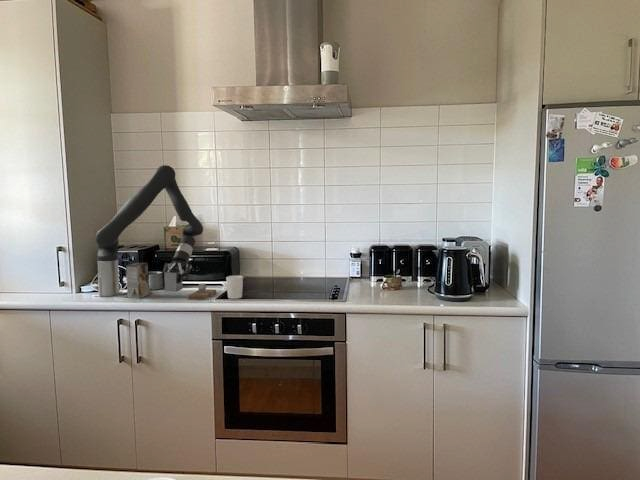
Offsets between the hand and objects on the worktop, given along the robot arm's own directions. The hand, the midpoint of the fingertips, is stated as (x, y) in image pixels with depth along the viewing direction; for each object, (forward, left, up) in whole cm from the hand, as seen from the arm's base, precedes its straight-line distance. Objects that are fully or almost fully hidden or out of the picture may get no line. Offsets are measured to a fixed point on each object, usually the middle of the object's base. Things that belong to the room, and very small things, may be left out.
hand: (171, 281), depth 216 cm
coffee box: (-14, +11, -8) cm, 19 cm away
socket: (+1, +1, -4) cm, 5 cm away
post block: (+13, -5, -8) cm, 16 cm away
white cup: (+26, -15, -8) cm, 31 cm away
